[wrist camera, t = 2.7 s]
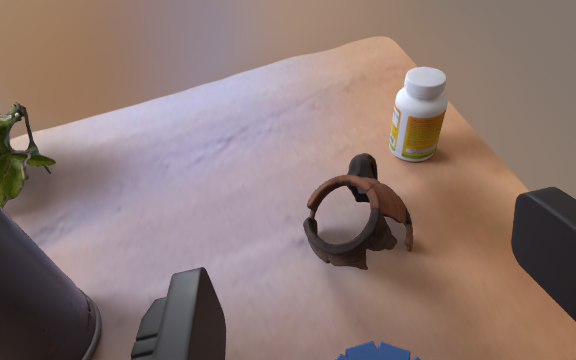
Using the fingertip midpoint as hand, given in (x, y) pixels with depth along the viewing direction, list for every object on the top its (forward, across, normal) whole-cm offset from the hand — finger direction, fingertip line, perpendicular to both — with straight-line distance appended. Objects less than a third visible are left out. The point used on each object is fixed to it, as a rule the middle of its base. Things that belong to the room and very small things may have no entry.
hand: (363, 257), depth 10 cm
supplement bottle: (+33, -14, +15) cm, 38 cm away
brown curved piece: (+22, -4, +17) cm, 28 cm away
